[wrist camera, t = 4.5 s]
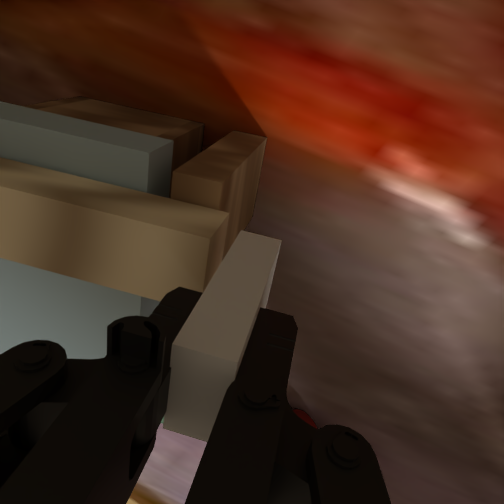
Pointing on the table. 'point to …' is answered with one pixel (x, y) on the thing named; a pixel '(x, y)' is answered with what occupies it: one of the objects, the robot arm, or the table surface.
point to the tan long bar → (107, 232)
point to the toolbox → (187, 157)
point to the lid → (53, 284)
